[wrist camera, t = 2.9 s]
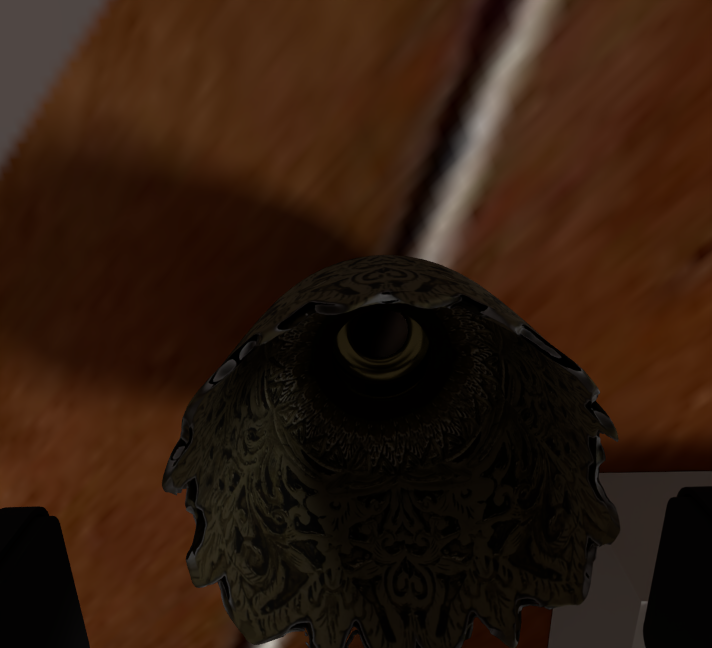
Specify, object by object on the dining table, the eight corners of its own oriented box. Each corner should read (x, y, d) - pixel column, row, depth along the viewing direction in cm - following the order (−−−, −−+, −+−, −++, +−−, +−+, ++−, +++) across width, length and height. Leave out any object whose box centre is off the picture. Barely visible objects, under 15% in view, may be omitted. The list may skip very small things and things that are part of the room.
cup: (508, 433, 18) (611, 672, 11) (269, 450, 18) (210, 696, 11) (510, 187, 15) (652, 281, 8) (230, 211, 16) (114, 325, 8)
